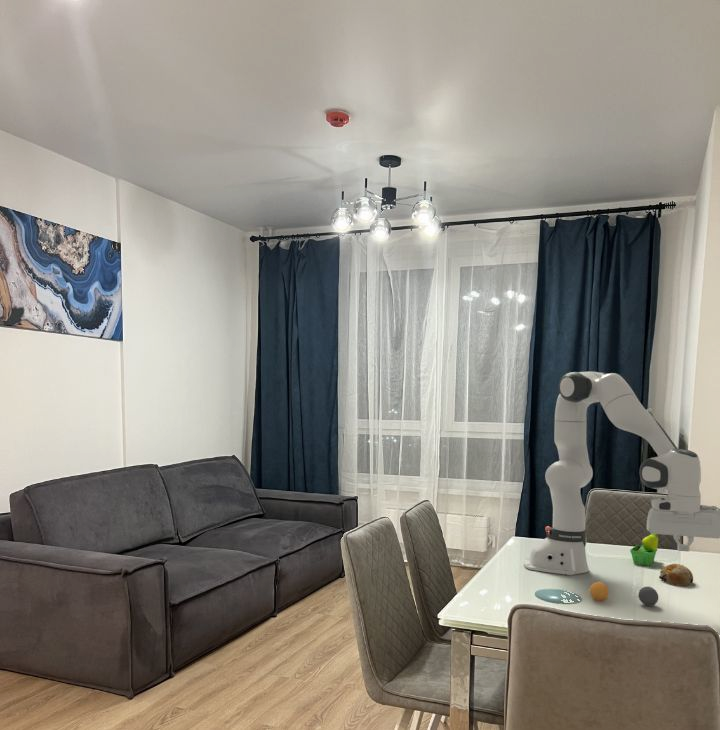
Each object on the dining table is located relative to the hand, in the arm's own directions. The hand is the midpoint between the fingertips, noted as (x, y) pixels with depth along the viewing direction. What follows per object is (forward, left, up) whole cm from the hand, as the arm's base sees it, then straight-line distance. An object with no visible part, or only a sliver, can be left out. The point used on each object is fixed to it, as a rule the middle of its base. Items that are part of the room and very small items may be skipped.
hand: (683, 550), depth 198 cm
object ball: (-23, 0, -14) cm, 28 cm away
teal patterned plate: (-35, 0, -17) cm, 39 cm away
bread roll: (+4, +30, -18) cm, 35 cm away
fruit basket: (-1, +54, -17) cm, 57 cm away
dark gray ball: (-9, 0, -14) cm, 17 cm away
